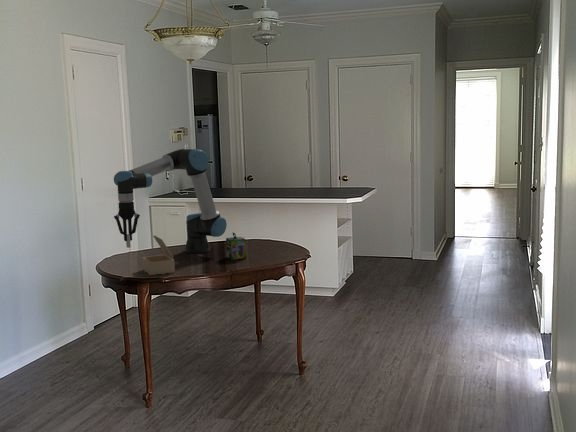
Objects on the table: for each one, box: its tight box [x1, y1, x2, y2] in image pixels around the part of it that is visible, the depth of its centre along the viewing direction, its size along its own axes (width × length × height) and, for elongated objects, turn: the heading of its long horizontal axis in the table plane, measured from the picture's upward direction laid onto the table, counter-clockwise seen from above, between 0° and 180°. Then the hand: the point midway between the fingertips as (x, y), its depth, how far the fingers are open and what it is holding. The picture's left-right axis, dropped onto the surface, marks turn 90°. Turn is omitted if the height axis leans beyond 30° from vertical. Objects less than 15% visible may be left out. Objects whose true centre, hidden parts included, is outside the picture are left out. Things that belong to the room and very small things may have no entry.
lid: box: [153, 234, 174, 259], centre depth 329 cm, size 15×11×1 cm
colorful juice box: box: [225, 231, 247, 261], centre depth 358 cm, size 9×9×15 cm
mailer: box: [141, 254, 176, 276], centre depth 329 cm, size 15×13×7 cm
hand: (128, 247), depth 321 cm, fingers closed
